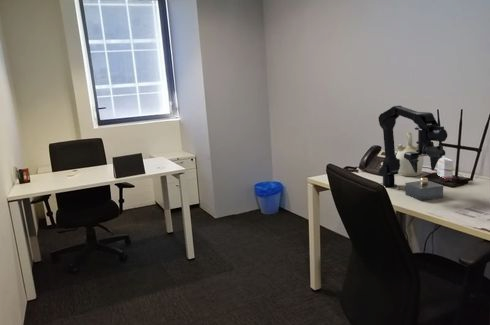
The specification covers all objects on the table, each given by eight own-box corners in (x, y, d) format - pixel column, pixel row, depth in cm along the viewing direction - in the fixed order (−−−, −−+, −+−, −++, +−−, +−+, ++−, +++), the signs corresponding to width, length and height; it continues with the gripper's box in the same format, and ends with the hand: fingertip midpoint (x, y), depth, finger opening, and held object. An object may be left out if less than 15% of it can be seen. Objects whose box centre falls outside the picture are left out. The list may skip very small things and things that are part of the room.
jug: (392, 176, 232) (392, 134, 227) (399, 170, 244) (399, 130, 239) (420, 178, 223) (421, 134, 218) (425, 172, 235) (426, 130, 230)
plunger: (409, 192, 194) (409, 177, 193) (425, 190, 196) (426, 175, 194) (421, 197, 186) (421, 181, 184) (438, 194, 187) (438, 179, 186)
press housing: (405, 194, 196) (405, 182, 194) (426, 191, 198) (426, 179, 197) (420, 201, 184) (421, 188, 183) (443, 197, 186) (443, 185, 185)
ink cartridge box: (453, 181, 211) (454, 154, 209) (443, 182, 212) (444, 155, 209) (445, 177, 220) (446, 152, 217) (436, 178, 220) (437, 152, 217)
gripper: (418, 143, 176) (417, 177, 179) (454, 139, 180) (453, 172, 183) (403, 140, 187) (403, 172, 190) (437, 136, 190) (436, 168, 193)
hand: (424, 171), depth 188 cm, fingers open, 9 cm apart
